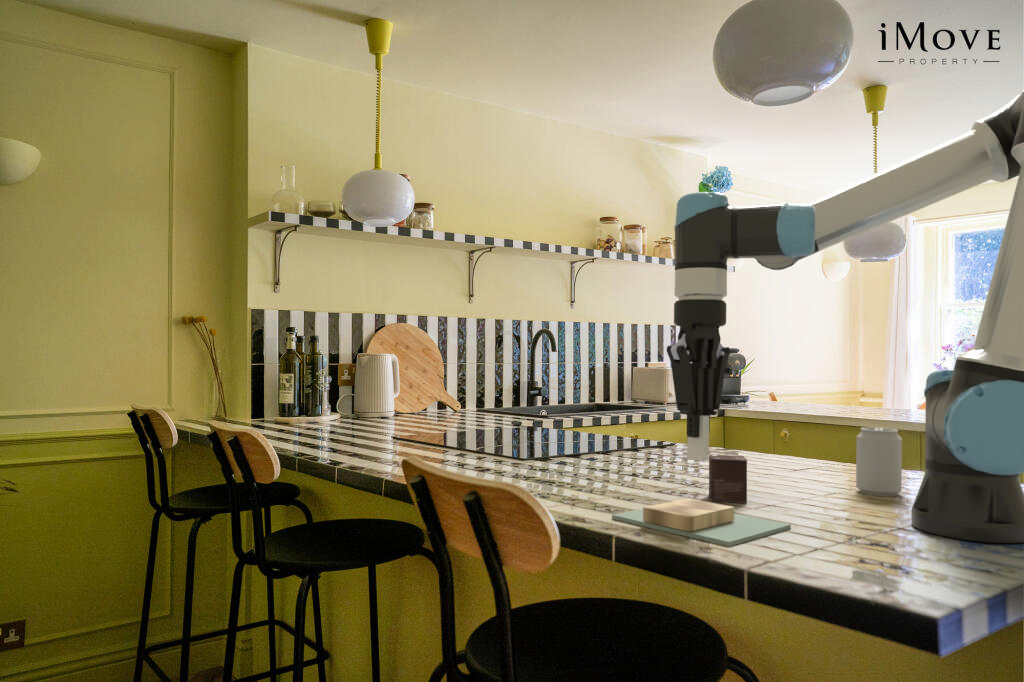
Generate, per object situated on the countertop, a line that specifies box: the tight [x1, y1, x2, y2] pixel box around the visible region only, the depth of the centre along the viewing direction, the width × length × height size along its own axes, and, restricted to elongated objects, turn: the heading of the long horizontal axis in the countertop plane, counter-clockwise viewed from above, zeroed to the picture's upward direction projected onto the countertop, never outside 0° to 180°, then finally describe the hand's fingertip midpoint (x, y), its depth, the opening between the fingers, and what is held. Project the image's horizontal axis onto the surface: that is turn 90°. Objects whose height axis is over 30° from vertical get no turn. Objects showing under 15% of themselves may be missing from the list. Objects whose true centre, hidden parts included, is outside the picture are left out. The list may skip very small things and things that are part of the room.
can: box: [855, 426, 903, 497], centre depth 135 cm, size 8×8×12 cm
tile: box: [642, 497, 735, 532], centre depth 106 cm, size 8×2×11 cm
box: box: [708, 454, 748, 504], centre depth 127 cm, size 6×6×7 cm
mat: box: [611, 508, 792, 547], centre depth 108 cm, size 20×16×1 cm
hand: (697, 459), depth 108 cm, fingers closed
